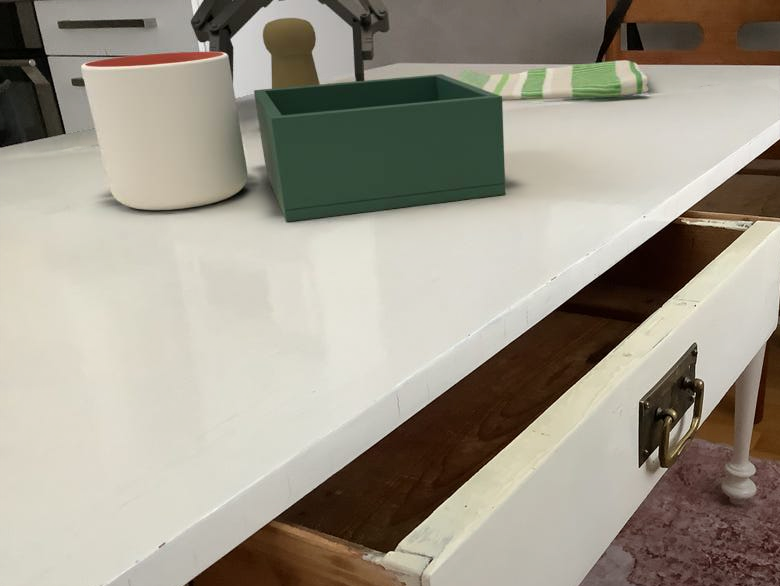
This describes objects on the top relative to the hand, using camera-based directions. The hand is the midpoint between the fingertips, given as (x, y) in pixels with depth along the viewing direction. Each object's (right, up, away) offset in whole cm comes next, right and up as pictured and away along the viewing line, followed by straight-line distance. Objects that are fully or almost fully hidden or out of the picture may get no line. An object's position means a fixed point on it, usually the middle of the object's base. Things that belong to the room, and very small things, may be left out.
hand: (293, 87), depth 85 cm
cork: (0, -3, +4) cm, 5 cm away
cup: (-4, -15, -20) cm, 26 cm away
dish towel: (+27, +6, +21) cm, 35 cm away
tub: (+11, -14, -20) cm, 26 cm away
